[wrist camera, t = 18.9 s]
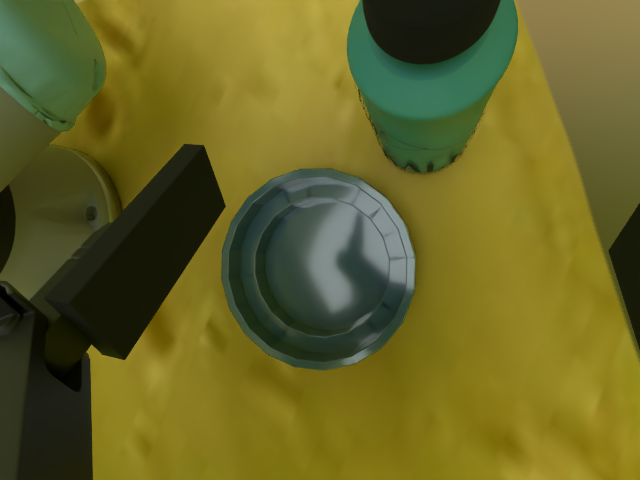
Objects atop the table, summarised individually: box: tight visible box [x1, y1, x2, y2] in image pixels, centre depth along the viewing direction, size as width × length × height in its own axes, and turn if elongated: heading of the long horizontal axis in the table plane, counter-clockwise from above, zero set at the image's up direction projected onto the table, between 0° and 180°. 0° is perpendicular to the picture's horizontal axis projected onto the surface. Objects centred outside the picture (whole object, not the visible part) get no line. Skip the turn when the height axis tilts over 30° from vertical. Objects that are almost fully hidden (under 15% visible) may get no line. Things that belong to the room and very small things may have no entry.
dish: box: [221, 168, 416, 370], centre depth 29 cm, size 14×14×4 cm
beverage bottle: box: [347, 0, 518, 174], centre depth 20 cm, size 6×7×20 cm
